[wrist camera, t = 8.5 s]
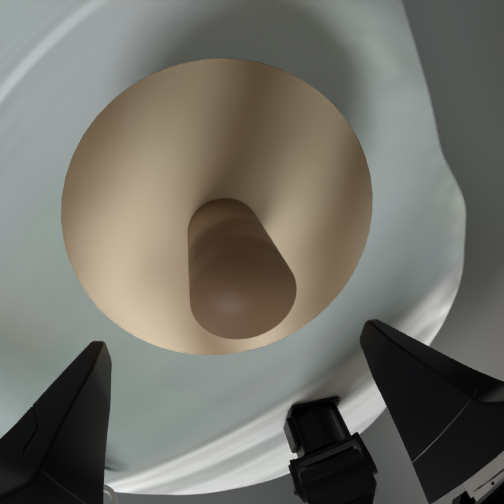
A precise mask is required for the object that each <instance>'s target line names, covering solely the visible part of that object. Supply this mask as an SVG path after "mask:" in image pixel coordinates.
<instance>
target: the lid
mask: <svg viewBox="0 0 504 504" xmlns="http://www.w3.org/2000/svg"><path fill="white" fill-rule="evenodd" d="M371 217H372V186H371V177H370V173H369V169H368V165H367V161H366V157H365V155H364V152H363V150H362V147H361V145H360V143H359V140H358V138H357V137H356V135H355V133H354V131H353V130H352V128H351V126H350V125H349V123H348V122H347V120H346V119H345V118H344V116H343V115H342V114H341V113H340V111H339V110H338V109H337V108H336V107H335V106H334V105H333V104H332V103H331V102H330V101H329V100H328V99H327V98H326V97H325V96H324V95H323V94H322V93H320V92H319V91H318V90H317V89H315V88H314V87H312V86H311V85H309V84H308V83H306V82H305V81H303V80H302V79H300V78H298V77H296V76H294V75H292V74H290V73H288V72H285V71H283V70H281V69H279V68H275V67H272V66H269V65H266V64H262V63H259V62H254V61H247V60H240V59H204V60H198V61H192V62H186V63H181V64H178V65H175V66H172V67H169V68H166V69H163V70H161V71H158V72H156V73H154V74H152V75H150V76H148V77H146V78H144V79H142V80H140V81H138V82H137V83H135V84H134V85H132V86H131V87H129V88H128V89H127V90H125V91H124V92H122V93H121V94H120V95H118V96H117V97H116V98H115V99H114V100H113V101H112V102H111V103H110V104H109V105H108V106H107V107H106V108H105V109H104V110H103V111H102V112H101V113H100V114H99V115H98V116H97V117H96V118H95V120H94V121H93V122H92V124H91V125H90V127H89V128H88V129H87V131H86V132H85V134H84V135H83V137H82V139H81V141H80V143H79V144H78V146H77V148H76V150H75V152H74V154H73V157H72V159H71V162H70V165H69V168H68V171H67V174H66V178H65V183H64V188H63V194H62V207H61V222H62V231H63V238H64V243H65V247H66V250H67V254H68V258H69V260H70V263H71V265H72V268H73V270H74V272H75V275H76V277H77V278H78V280H79V282H80V283H81V285H82V287H83V288H84V290H85V292H86V293H87V294H88V296H89V297H90V298H91V299H92V301H93V302H94V303H95V304H96V306H97V307H98V308H99V309H100V310H101V311H102V312H103V313H104V314H105V315H106V316H107V317H108V318H109V319H111V320H112V321H113V322H115V323H116V324H117V325H119V326H120V327H121V328H123V329H124V330H126V331H127V332H129V333H131V334H132V335H134V336H136V337H138V338H139V339H142V340H144V341H146V342H148V343H151V344H153V345H156V346H159V347H162V348H165V349H169V350H172V351H177V352H183V353H188V354H200V355H222V354H230V353H238V352H243V351H247V350H251V349H256V348H259V347H262V346H265V345H267V344H270V343H273V342H275V341H277V340H279V339H282V338H284V337H286V336H288V335H290V334H291V333H293V332H295V331H296V330H298V329H300V328H301V327H303V326H304V325H306V324H307V323H308V322H310V321H311V320H312V319H314V318H315V317H316V316H317V315H319V314H320V313H321V312H322V311H323V310H324V309H325V308H326V307H327V306H328V305H329V304H330V303H331V302H332V301H333V300H334V299H335V298H336V296H337V295H338V294H339V293H340V292H341V290H342V289H343V287H344V286H345V285H346V283H347V282H348V280H349V279H350V277H351V275H352V274H353V272H354V270H355V268H356V266H357V265H358V262H359V260H360V258H361V255H362V253H363V250H364V248H365V244H366V241H367V237H368V234H369V230H370V223H371Z"/></svg>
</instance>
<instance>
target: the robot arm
mask: <svg viewBox="0 0 504 504" xmlns="http://www.w3.org/2000/svg"><path fill="white" fill-rule="evenodd" d="M360 344H361V347H362V349H363V352H364V355H365V357H366V360H367V363H368V366H369V368H370V371H371V374H372V376H373V378H374V381H375V383H376V385H377V387H378V389H379V391H380V393H381V395H382V397H383V399H384V401H385V404H386V406H387V408H388V410H389V412H390V414H391V416H392V419H393V421H394V423H395V425H396V427H397V429H398V432H399V434H400V436H401V438H402V441H403V443H404V445H405V448H406V450H407V452H408V454H409V457H410V459H411V461H412V464H413V467H414V469H415V471H416V474H417V476H418V479H419V481H420V483H421V486H422V488H423V491H424V493H425V496H426V499H427V501H428V503H429V504H432V503H434V502H436V501H437V500H439V499H441V498H442V497H444V496H445V495H447V494H448V493H450V492H451V491H453V490H454V489H456V488H457V487H459V486H460V485H462V484H463V486H464V487H465V489H466V490H465V491H464V492H463V493H462V494H460V495H459V496H457V497H456V498H455V499H453V501H452V504H504V381H501V380H498V379H495V378H493V377H491V376H488V375H486V374H484V373H481V372H479V371H477V370H474V369H472V368H470V367H468V366H466V365H463V364H462V363H460V362H458V361H456V360H454V359H452V358H451V359H450V357H448V356H446V355H444V354H442V353H440V352H438V351H437V350H435V349H433V348H431V347H429V346H427V345H425V344H423V343H421V342H419V341H417V340H416V339H414V338H412V337H410V336H408V335H406V334H404V333H402V332H400V331H398V330H396V329H395V328H393V327H391V326H389V325H387V324H385V323H383V322H381V321H379V320H377V319H373V320H368V321H366V322H365V324H364V327H363V330H362V333H361V336H360ZM111 369H112V363H111V358H110V355H109V352H108V349H107V346H106V343H105V342H104V341H92V342H91V343H90V344H89V345H88V346H87V347H86V348H85V349H84V350H83V351H82V352H81V353H80V354H79V355H78V357H77V358H76V359H75V360H74V361H73V362H72V363H71V364H70V365H69V366H68V367H67V368H66V369H65V370H64V371H63V372H62V374H61V375H60V376H59V377H58V378H57V379H56V380H55V381H54V382H53V383H52V384H51V385H50V387H49V388H48V389H47V390H46V391H45V392H44V393H43V394H42V395H41V397H40V398H39V399H38V400H37V401H36V402H35V403H34V404H33V407H31V408H30V409H29V410H28V411H27V412H26V413H25V414H24V416H23V417H22V418H21V419H20V420H19V421H18V422H17V423H16V424H15V425H14V426H13V427H12V428H11V429H10V430H9V431H8V432H7V433H6V434H5V435H4V436H3V437H2V438H1V439H0V504H103V492H104V468H105V453H106V441H107V431H108V422H109V413H110V401H111ZM339 401H340V398H339V397H338V396H336V397H332V398H328V399H324V400H319V401H315V402H310V403H305V404H300V405H295V406H293V407H291V408H290V412H289V415H288V418H287V419H286V422H285V425H284V431H285V434H286V437H287V440H288V443H289V446H290V449H291V452H292V453H297V456H298V458H297V459H292V460H290V465H289V466H288V467H289V470H290V473H291V476H292V481H293V491H294V494H295V495H296V496H299V497H300V498H301V499H302V501H303V502H304V503H305V504H306V503H308V504H375V501H376V496H377V483H376V480H375V478H374V475H376V474H378V471H377V468H376V466H375V464H374V462H373V459H372V457H371V455H370V453H369V452H368V450H367V448H366V446H365V445H364V443H363V441H362V439H361V438H360V436H359V434H358V432H356V433H354V434H353V435H351V434H350V432H349V430H348V428H347V426H346V424H345V422H344V420H343V418H342V416H341V414H340V412H339V410H338V408H337V405H338V403H339Z"/></svg>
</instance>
